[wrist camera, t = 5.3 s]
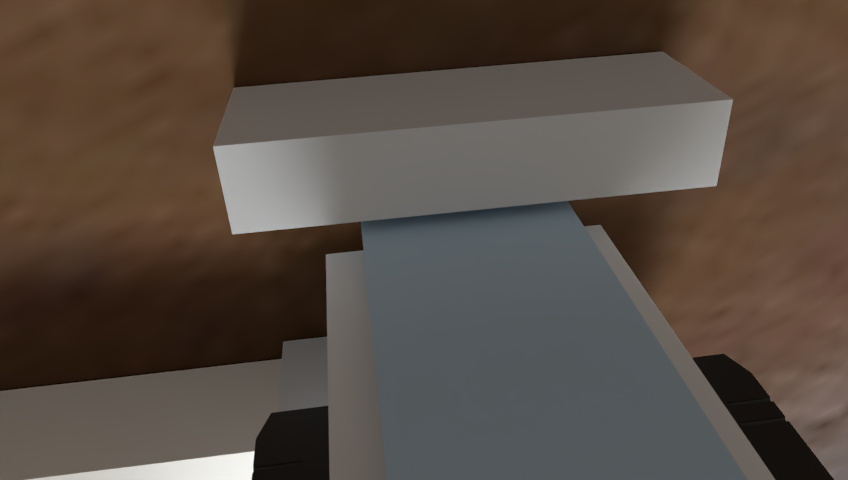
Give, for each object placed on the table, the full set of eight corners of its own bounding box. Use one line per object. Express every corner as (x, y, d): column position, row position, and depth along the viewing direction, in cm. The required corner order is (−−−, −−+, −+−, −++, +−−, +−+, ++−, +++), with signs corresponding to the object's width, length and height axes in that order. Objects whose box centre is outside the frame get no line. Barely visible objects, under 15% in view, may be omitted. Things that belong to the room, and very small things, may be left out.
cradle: (233, 87, 14) (212, 146, 12) (662, 51, 15) (733, 99, 12) (292, 391, 18) (287, 483, 16) (623, 352, 19) (669, 434, 17)
